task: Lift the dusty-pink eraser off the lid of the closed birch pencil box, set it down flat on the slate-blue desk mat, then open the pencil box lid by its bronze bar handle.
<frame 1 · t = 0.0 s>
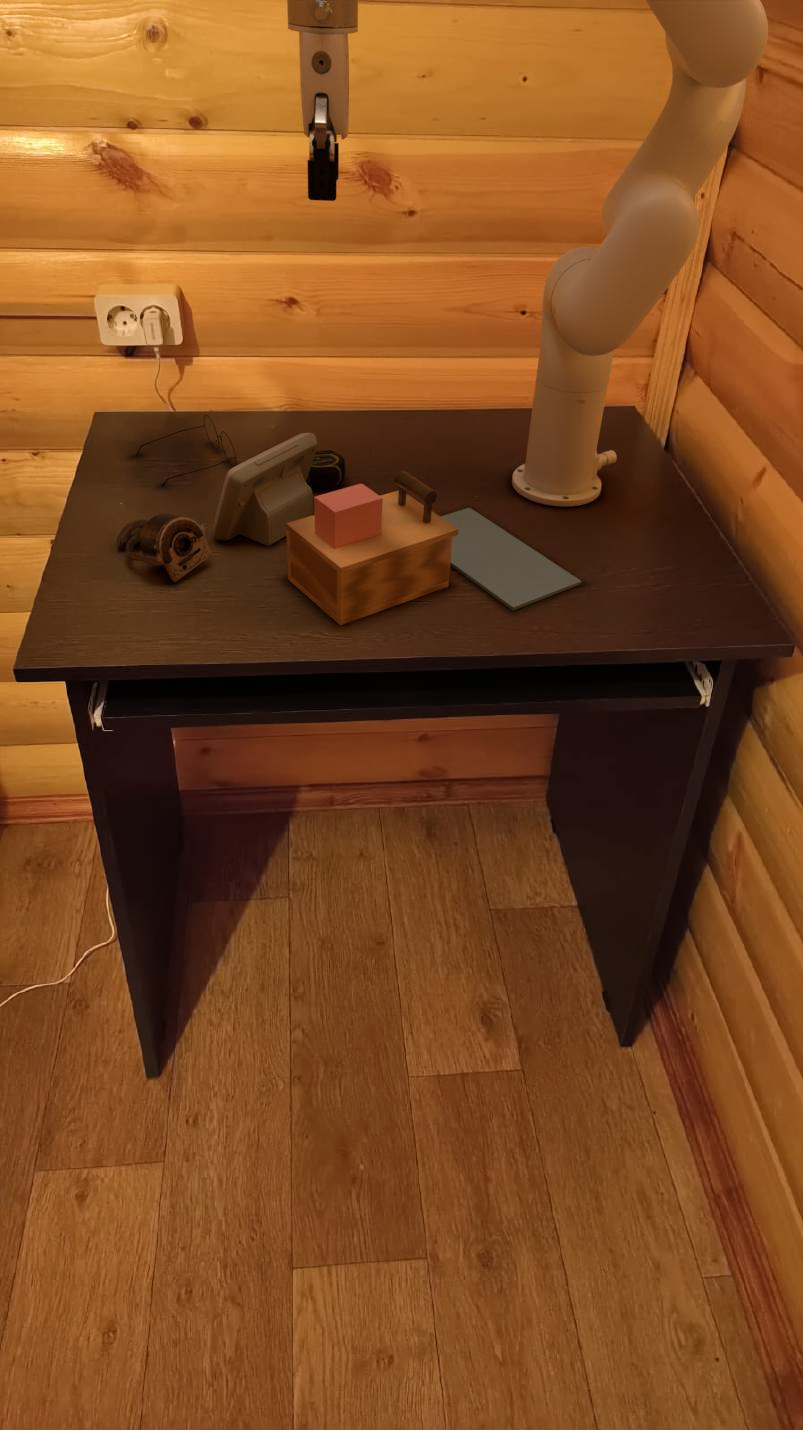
hand: (323, 189, 120), 37 cm above the table, tool pointing down, fingers open, 9 cm apart
pencil box: (368, 583, 123), on the table
eraser: (348, 533, 117), point 8 cm above the table, touching lid
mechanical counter: (165, 559, 126), on the table
lid: (372, 512, 118), point 9 cm above the table, hinge at 0.0°, touching eraser
tape measure: (317, 482, 144), on the table
mat: (489, 557, 129), on the table
digital clock: (267, 524, 134), on the table
eyeglasses: (187, 464, 146), on the table
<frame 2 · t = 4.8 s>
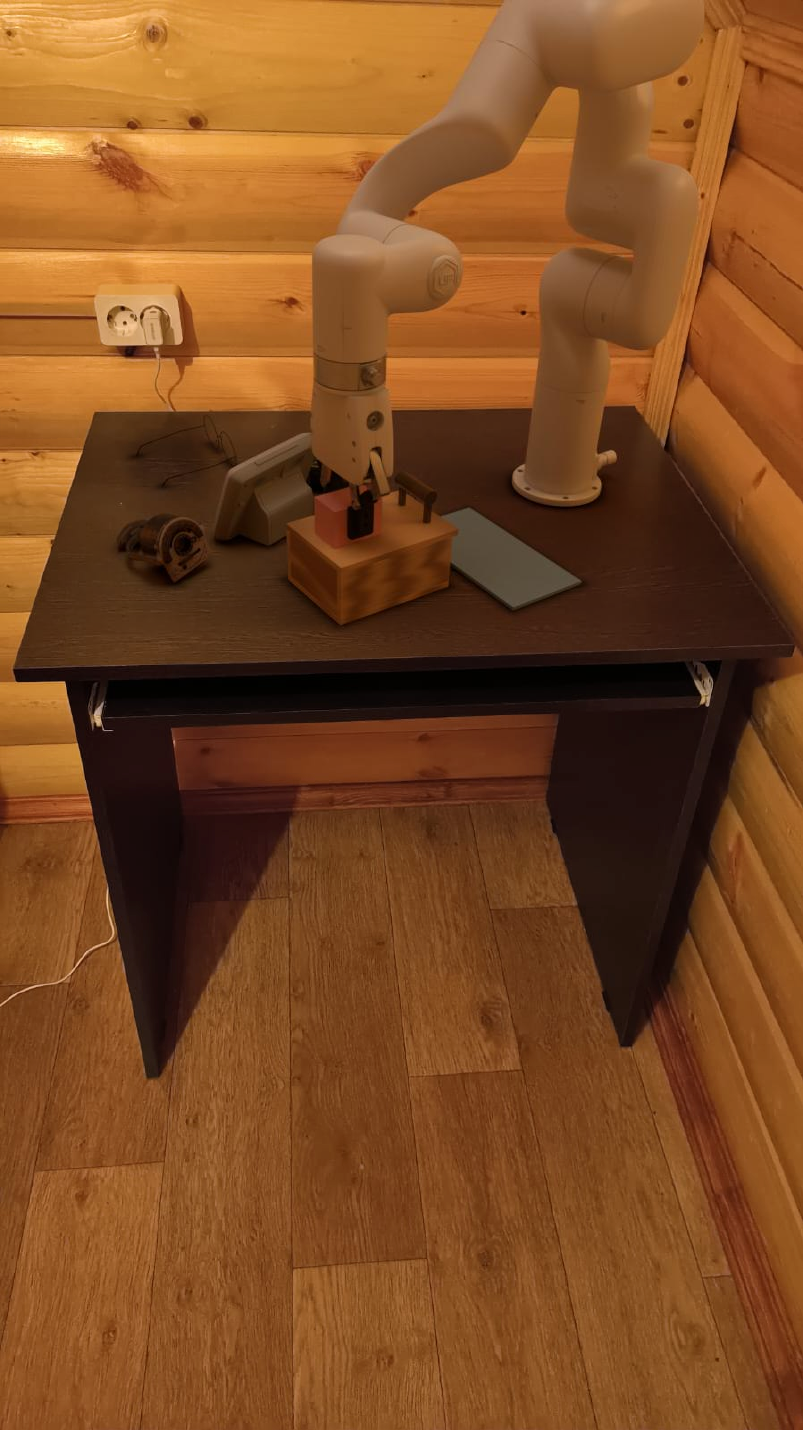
hand: (348, 525, 116), 9 cm above the table, tool pointing down, fingers closed on eraser, 4 cm apart
eraser: (348, 533, 117), point 8 cm above the table, touching gripper, lid
everything else where it was.
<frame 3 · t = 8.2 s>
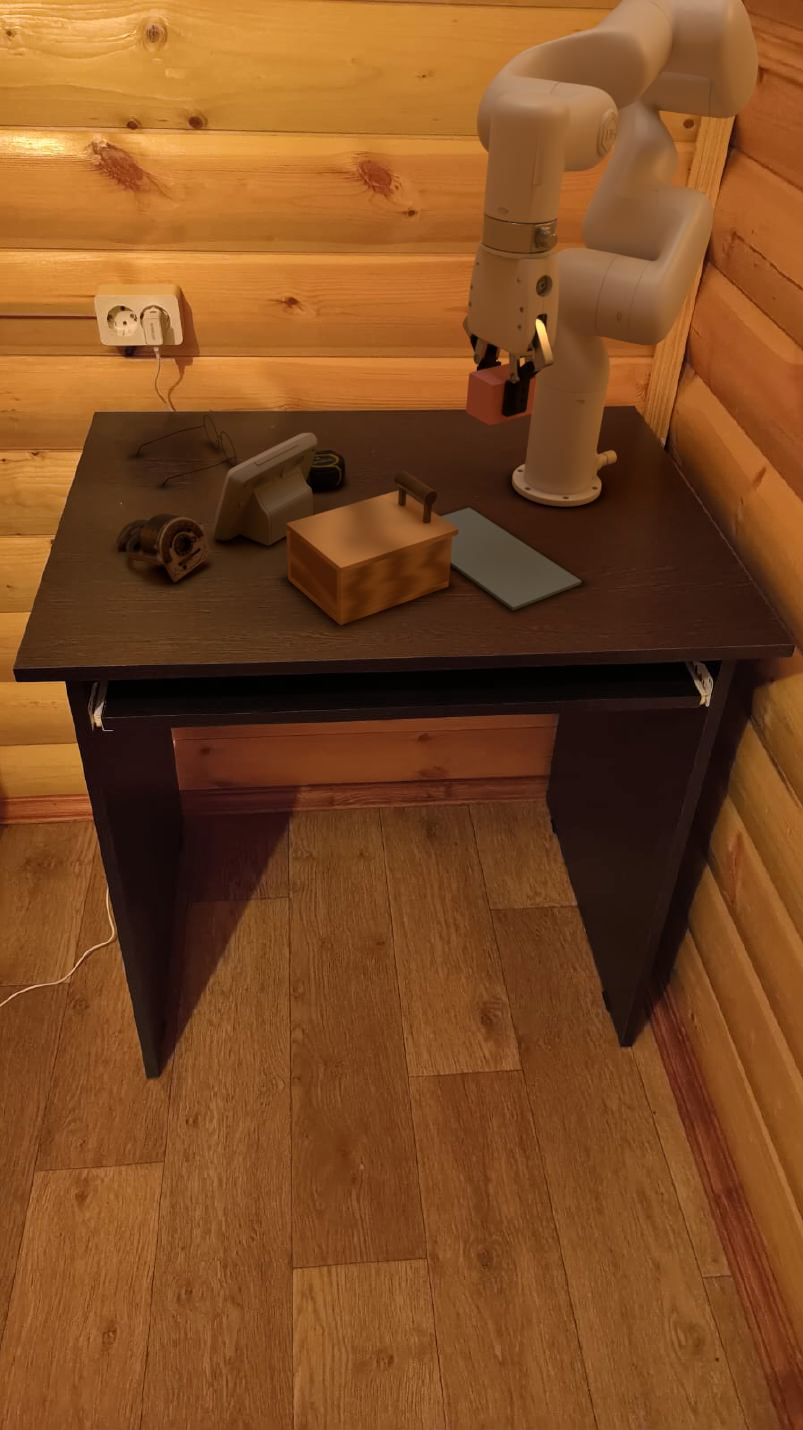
hand: (499, 404, 116), 20 cm above the table, tool pointing down, fingers closed on eraser, 4 cm apart
eraser: (498, 412, 117), point 19 cm above the table, touching gripper
lid: (372, 512, 118), point 9 cm above the table, hinge at -0.1°
everything else where it was.
when the fingers open (1 cm above the table, at t = 12.0 s): eraser stays where it is, resting on mat.
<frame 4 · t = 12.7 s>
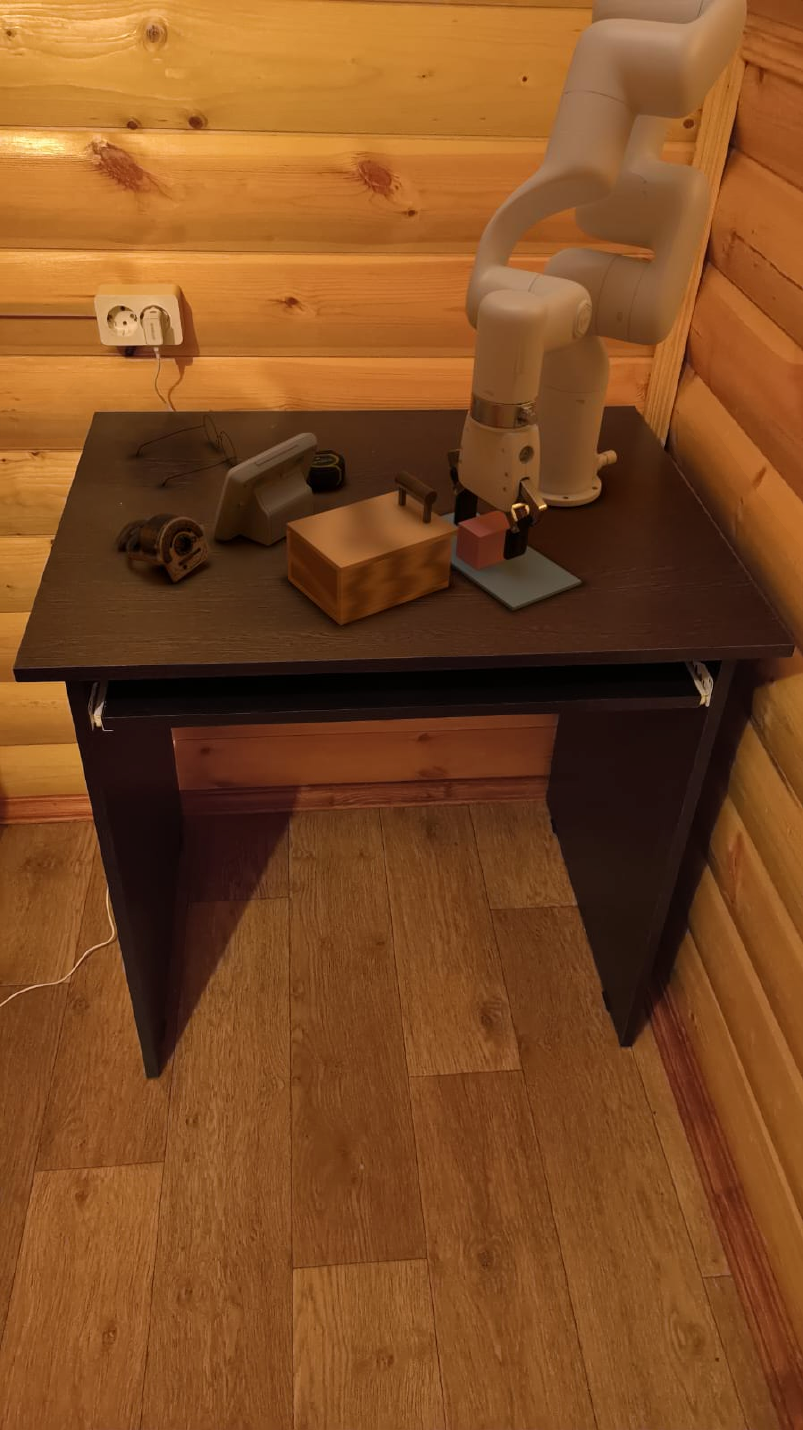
hand: (488, 538, 127), 3 cm above the table, tool pointing down, fingers open, 9 cm apart
eraser: (485, 555, 129), resting on mat
everything else where it was.
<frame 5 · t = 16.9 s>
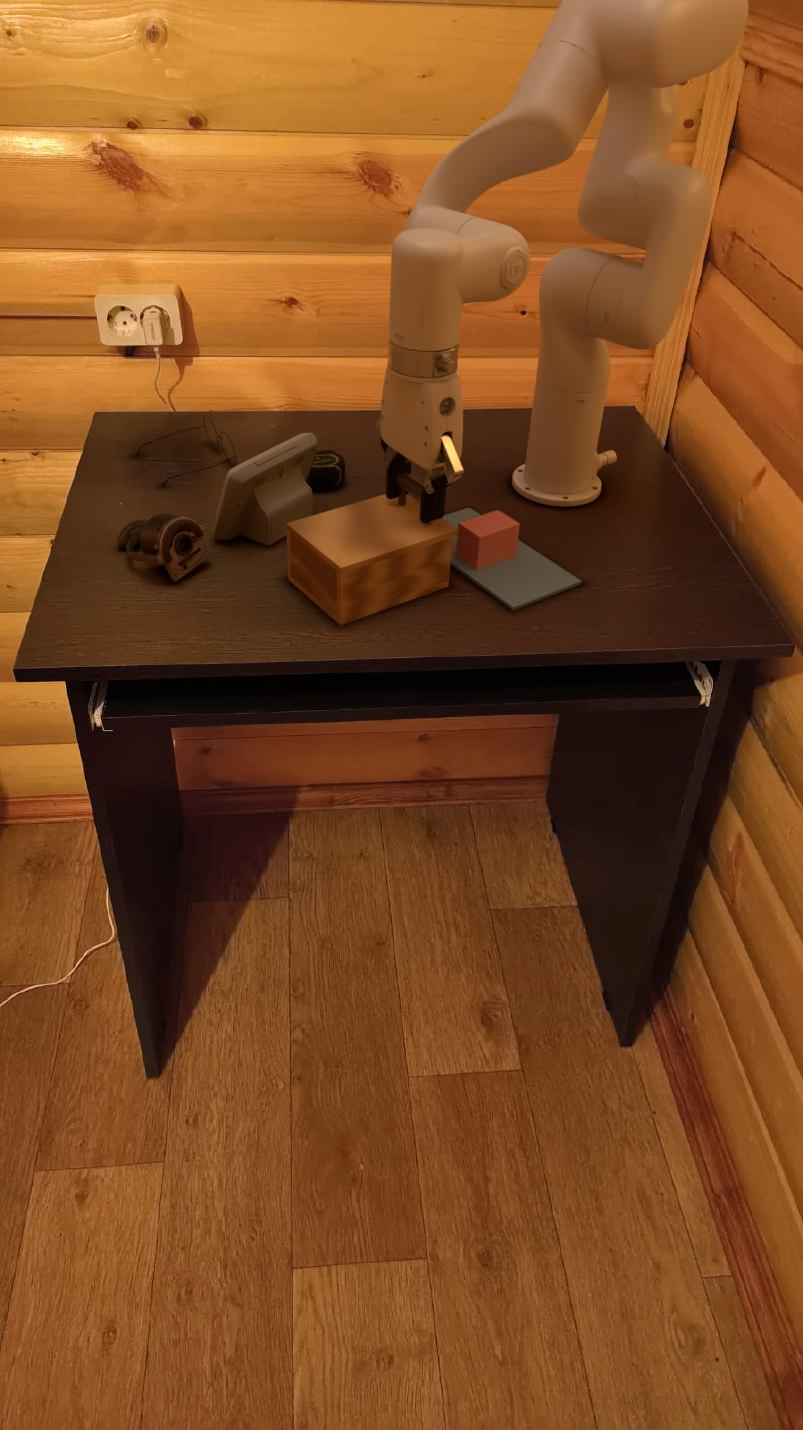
hand: (414, 506, 121), 9 cm above the table, tool pointing down, fingers closed on lid, 6 cm apart
lid: (372, 512, 118), point 9 cm above the table, hinge at -0.1°, touching gripper
everything else where it was.
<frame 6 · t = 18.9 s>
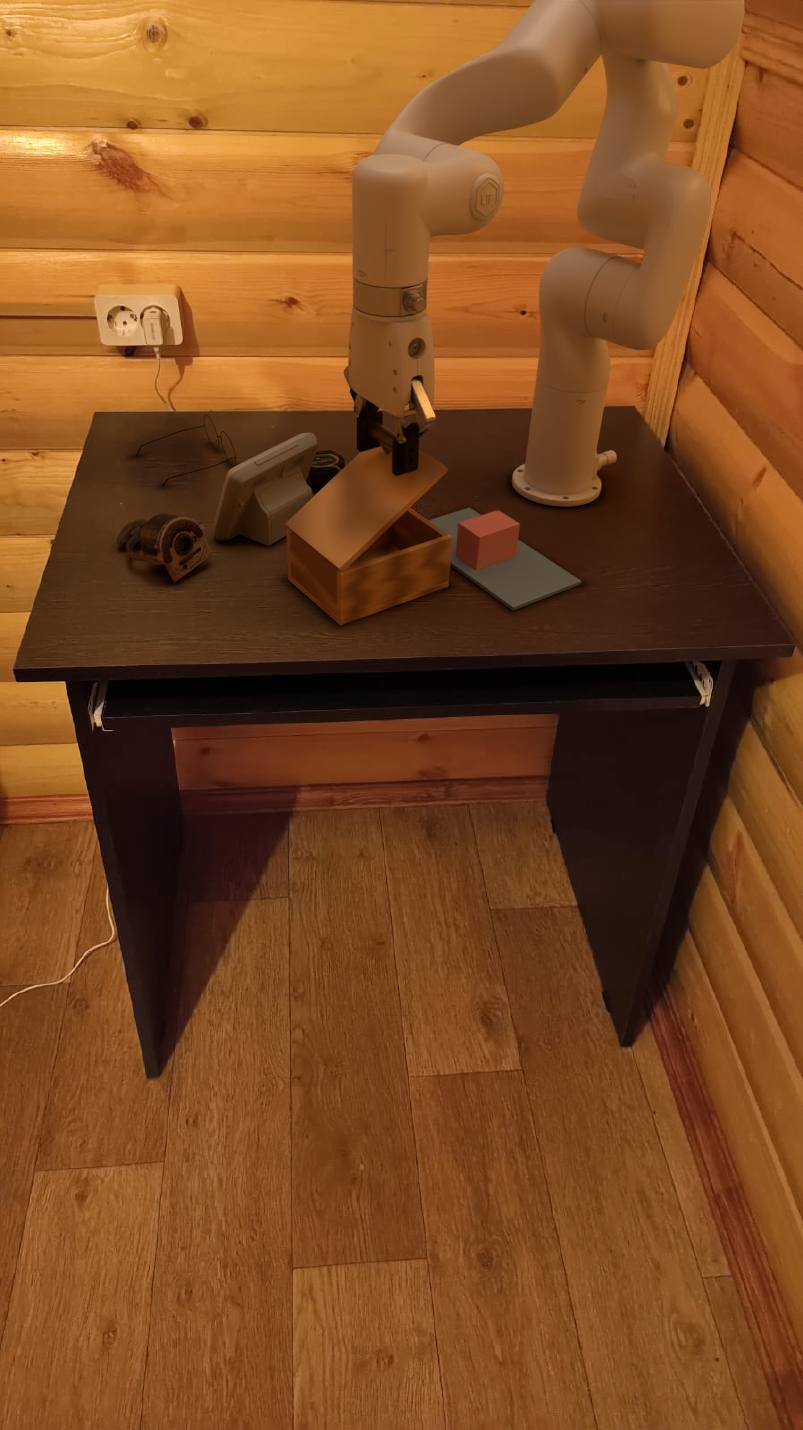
hand: (386, 458, 114), 16 cm above the table, tool pointing down, fingers closed on lid, 6 cm apart
lid: (356, 485, 114), point 13 cm above the table, hinge at 31.7°, touching gripper
everything else where it was.
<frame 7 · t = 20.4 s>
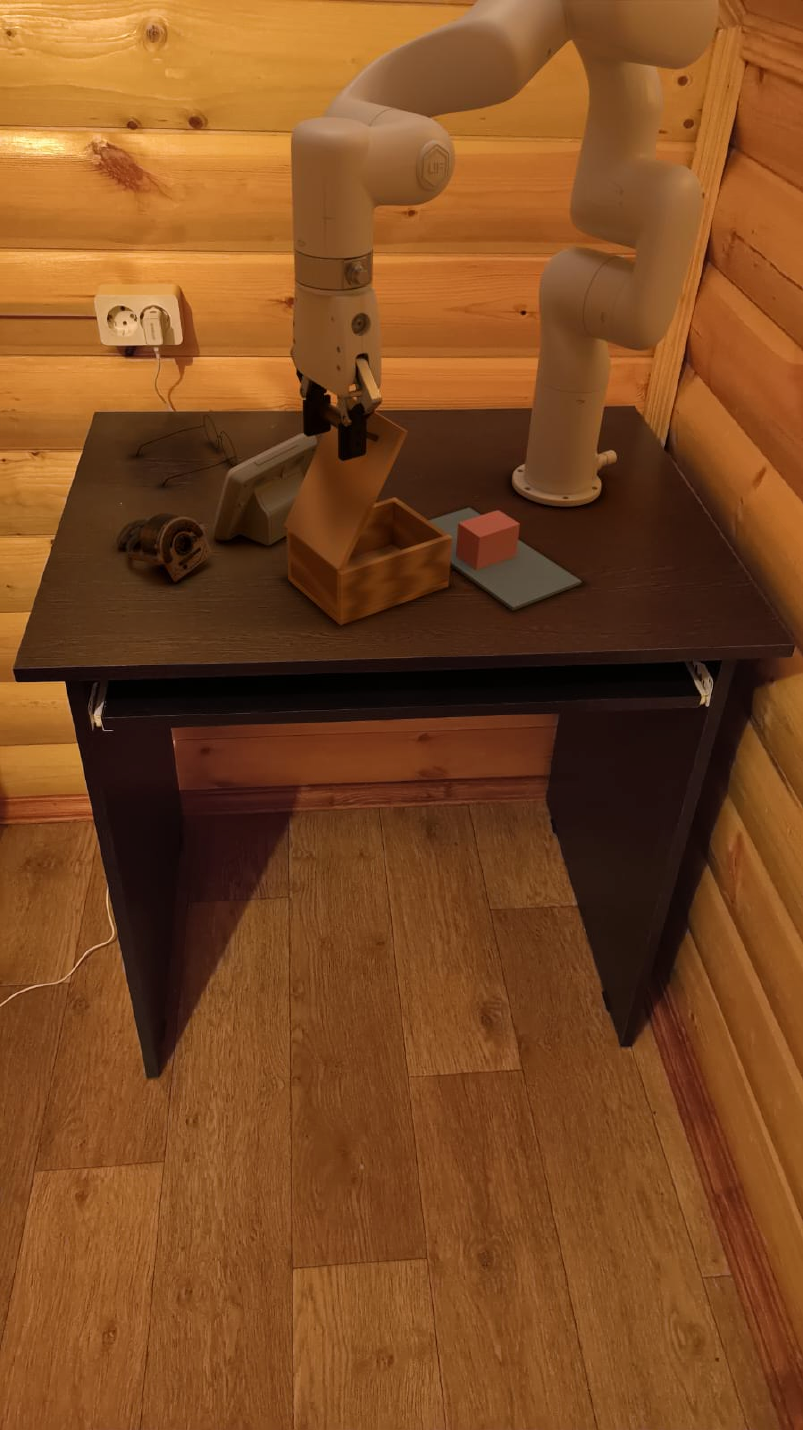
hand: (334, 443, 109), 19 cm above the table, tool pointing down, fingers closed on lid, 6 cm apart
lid: (328, 476, 111), point 15 cm above the table, hinge at 60.8°, touching gripper
everything else where it was.
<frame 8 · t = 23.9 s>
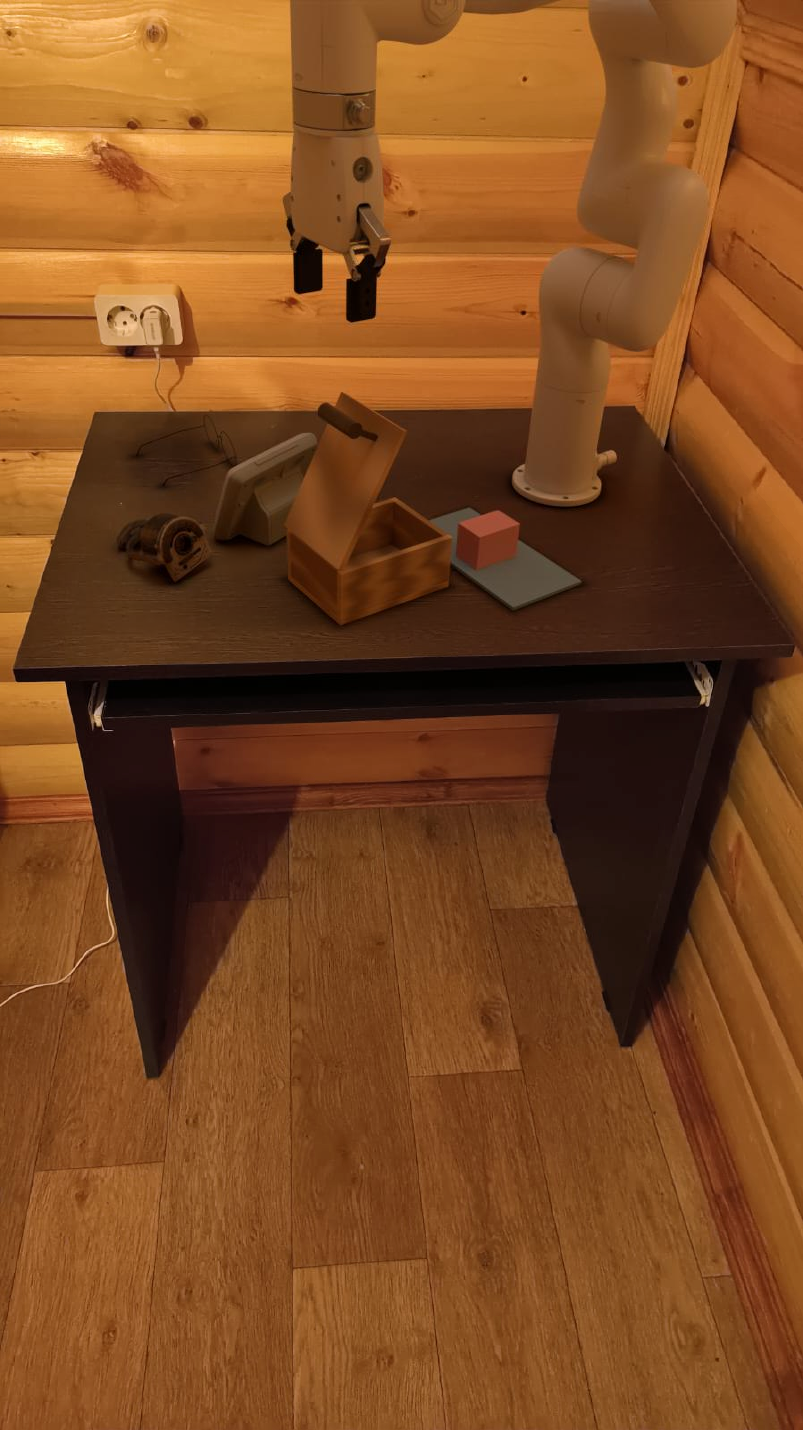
hand: (333, 305, 103), 32 cm above the table, tool pointing down, fingers open, 9 cm apart
lid: (328, 476, 111), point 15 cm above the table, hinge at 61.3°
everything else where it was.
at the end: eraser inside the target area on the mat (0.8 cm from its centre), point 0.5 cm above the mat's base; eraser tilted 0°; lid at +61° (first picture: +0°) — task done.
